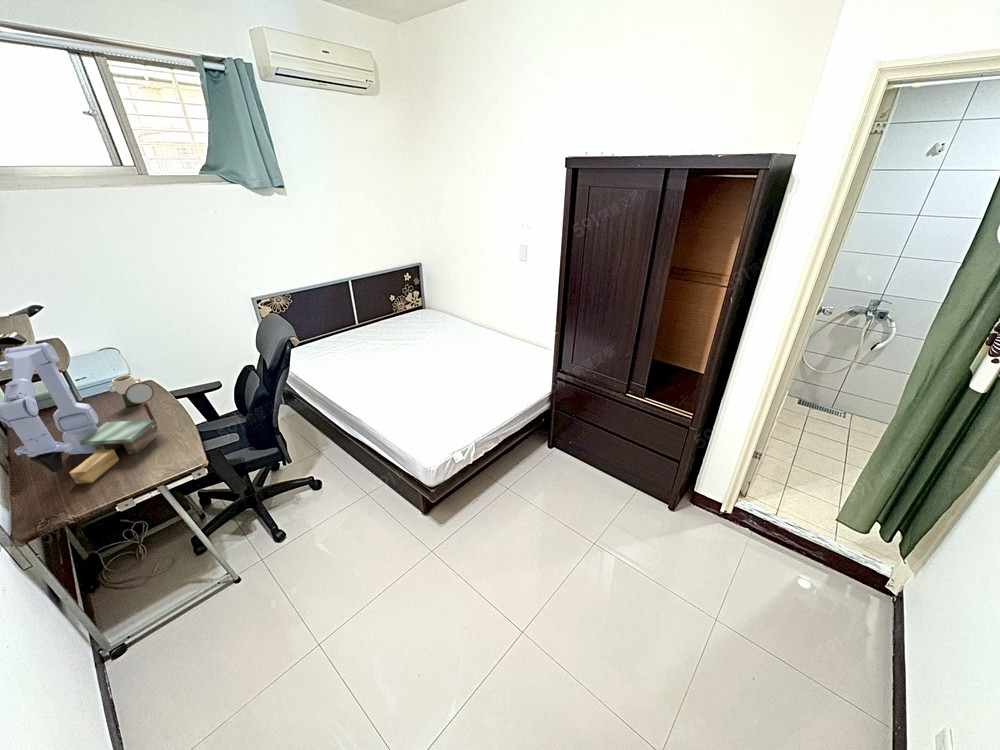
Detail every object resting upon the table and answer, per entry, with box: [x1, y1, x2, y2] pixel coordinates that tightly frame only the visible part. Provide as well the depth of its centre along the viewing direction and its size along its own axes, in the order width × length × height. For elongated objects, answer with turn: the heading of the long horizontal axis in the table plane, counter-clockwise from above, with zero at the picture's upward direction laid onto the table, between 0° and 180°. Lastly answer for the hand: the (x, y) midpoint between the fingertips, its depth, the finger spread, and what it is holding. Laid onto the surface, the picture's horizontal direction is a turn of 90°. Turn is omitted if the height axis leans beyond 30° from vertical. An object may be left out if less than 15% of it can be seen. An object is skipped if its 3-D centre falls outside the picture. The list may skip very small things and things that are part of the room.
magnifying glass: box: [125, 382, 157, 427], centre depth 159 cm, size 9×2×20 cm, turn 145°
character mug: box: [107, 374, 143, 407], centre depth 176 cm, size 11×7×13 cm, turn 134°
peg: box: [69, 449, 120, 484], centre depth 138 cm, size 5×12×5 cm, turn 5°
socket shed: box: [79, 419, 157, 455], centre depth 149 cm, size 17×12×8 cm
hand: (58, 470), depth 125 cm, fingers closed
